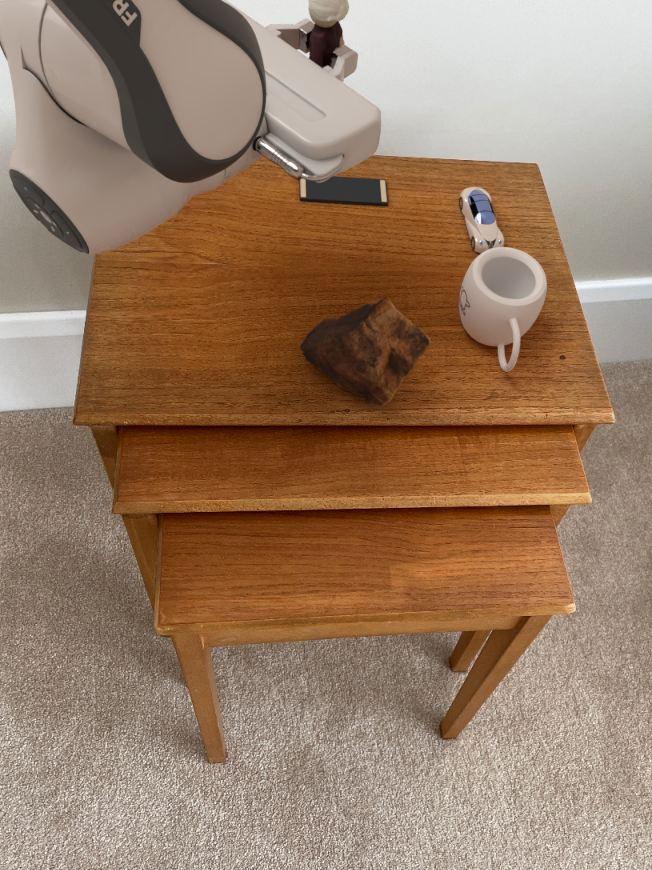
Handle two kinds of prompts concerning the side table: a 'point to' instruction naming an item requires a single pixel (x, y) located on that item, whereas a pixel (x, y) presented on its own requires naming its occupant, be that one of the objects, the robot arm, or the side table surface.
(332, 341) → the decorative rock
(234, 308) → the side table surface
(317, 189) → the black flat block
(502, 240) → the toy car
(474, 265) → the mug
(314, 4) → the grandmother figurine
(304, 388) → the side table surface
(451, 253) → the side table surface
